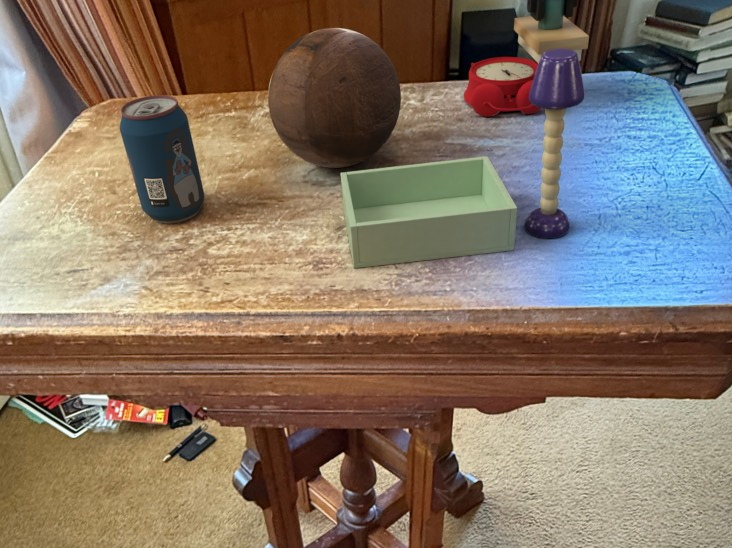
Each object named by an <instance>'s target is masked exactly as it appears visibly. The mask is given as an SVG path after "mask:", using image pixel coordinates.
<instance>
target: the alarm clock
mask: <svg viewBox="0 0 732 548" xmlns="http://www.w3.org/2000/svg"><path fill="white" fill-rule="evenodd" d="M470 65H471V67H470V68H469V71H468V84H467V86H466V89H465V90H464V93H463V100H464V102H465V103H466V104H467V105H469V106H470V107H471V108H472V110H473V111H474V112H475V113H476V114H477V115H478V116H481V117H484V118H491V117H494V116H496V115H497V114H499V113H501V112H503V113H504V112H514V111H520V112H521V113H523V114H525V115H531V114H535V113H538V112H540V111H541V110H542V109H543V108H538V107H536V106H534V105H532V104H531V103H530V101H529V93H530V89H531V86H532V83H533V80H534V76H535V73H536V70H537V67H538V63H537V62H536V61H535V60H532V59H527V58H524V57H517V56H516V57H514V56H500V57H499V56H497V57H491V58H486V59H483V60H480V61H477V62H475V63H474V62H471V64H470Z"/></svg>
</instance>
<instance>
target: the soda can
mask: <svg viewBox="0 0 732 548" xmlns="http://www.w3.org/2000/svg"><path fill="white" fill-rule="evenodd" d="M120 114H121V118H120V123H119V132H120V135H121V139H122V143H123V147H124V151H125V154H126V158H127V160H128V164H129V167H130V171H131V175H132V178H133V183H134V186H135V189H136V192H137V196H138V200H139V204H140V207H141V209H142V211H143V212H144V213H145V215H147V216H148V217H149V218H150V219H151V220H152V221H154V222H156V223H159V224H168V225H169V224H177V223H182V222H186V221H187V220H190V219H192V218H193V217H196V215H197V214H199V213H200V211H201V208H202V205H203V203H204V200H205V191H204V186H203V183H202V177H201V173H200V169H199V164H198V160H197V155H196V150H195V146H194V141H193V136H192V132H191V128H190V123H189V118H188V115H187V113H186V112H185V111H184V110H183V108H182V107H181V106H180V105H179V101H178V99H177V98H176V97H174V96H172V95H167V94H156V95H149V96H142V97H139V98H135V99H133V100H130V101H128V102H126V103H125V104H123V106H122V107H121V108H120Z"/></svg>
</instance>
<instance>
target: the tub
mask: <svg viewBox="0 0 732 548" xmlns="http://www.w3.org/2000/svg"><path fill="white" fill-rule="evenodd" d="M340 184H341V194H342V195H341V196H342V207H343V214H344V221H345V226H346V231H347V237H348V238H347V239H348V243H349V249H350V256H351V261H352V266H353V269H359V268H368V267H369V268H370V267H377V266H386V265H394V264H405V263H413V262H422V261H431V260H440V259H448V258H449V259H450V258H457V257H467V256H475V255H483V254H484V255H485V254H493V253H501V252H510V251H511V252H512V251H515V243H516V232H517V231H516V229H517V217H518V206H517V205H516V203H515V201H514V200H513V197H512V196H511V195H510V192H509V191H508V190H507V188H506V186H505V184H504V182H503V181H502V179H501V177H500V175H499V173H498V172H497V170H496V169H495V167H494V166H493V163H492V161H491V160H490V158H489V157H488V156H487V155H486V156H477V157H476V156H475V157H469V158H459V159H451V160H441V161H434V162H433V161H432V162H423V163H416V164H406V165H397V166H389V167H387V166H386V167H379V168H378V167H377V168H370V169H361V170H353V171H345V172H340Z"/></svg>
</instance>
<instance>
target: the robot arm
mask: <svg viewBox="0 0 732 548" xmlns="http://www.w3.org/2000/svg"><path fill="white" fill-rule="evenodd" d="M577 6H578V0H565V6H564V16H565V17H566V18H572V17H573V16H574V8H577ZM526 11H527V13H528V14H529V16H531V17H533V18H534V19H535V20H536V21H541V20H542V19H543V13H544V0H526Z"/></svg>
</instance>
